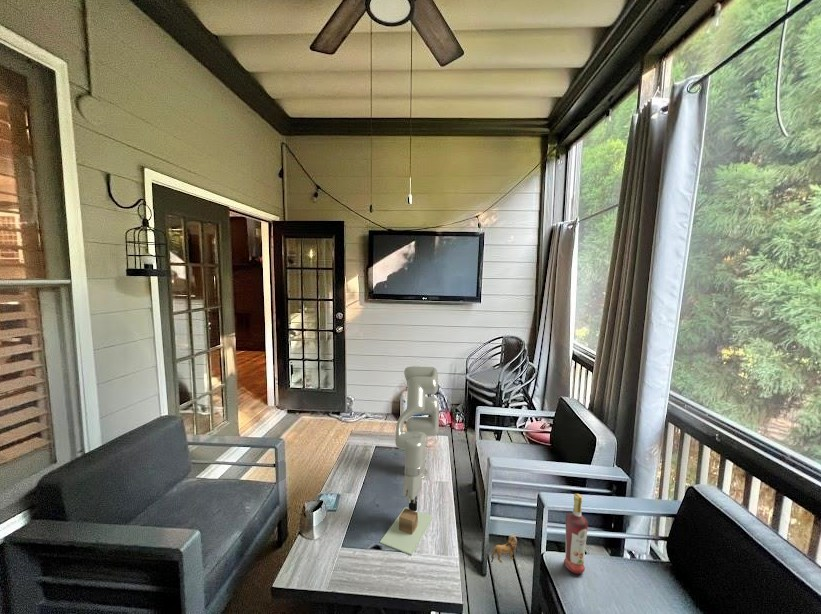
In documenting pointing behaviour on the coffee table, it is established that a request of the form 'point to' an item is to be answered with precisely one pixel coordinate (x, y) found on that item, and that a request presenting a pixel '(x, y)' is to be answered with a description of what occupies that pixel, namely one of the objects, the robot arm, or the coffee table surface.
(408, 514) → the walnut cube
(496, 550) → the lion figurine
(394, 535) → the rubber mat
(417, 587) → the coffee table surface
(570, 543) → the liquor
